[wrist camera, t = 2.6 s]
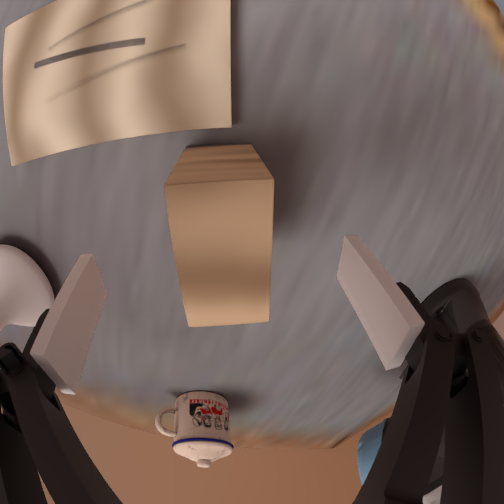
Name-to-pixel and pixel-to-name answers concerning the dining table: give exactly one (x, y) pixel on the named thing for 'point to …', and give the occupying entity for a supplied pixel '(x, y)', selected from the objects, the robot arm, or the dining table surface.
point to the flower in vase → (22, 288)
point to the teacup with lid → (199, 427)
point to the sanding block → (222, 233)
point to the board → (114, 72)
